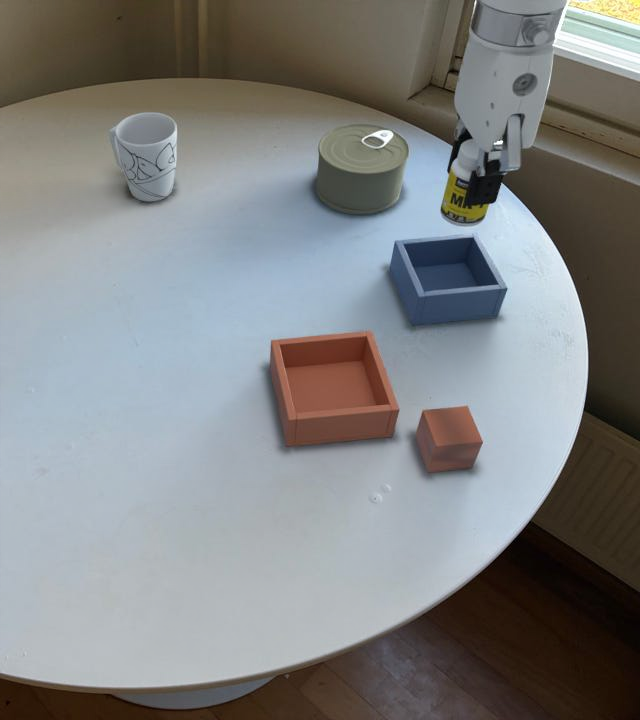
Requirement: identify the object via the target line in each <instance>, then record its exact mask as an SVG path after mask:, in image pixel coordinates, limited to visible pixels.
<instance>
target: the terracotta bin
mask: <svg viewBox="0 0 640 720" xmlns="http://www.w3.org/2000/svg"><path fill="white" fill-rule="evenodd" d="M269 371H270V376H271V381H272V385H273V390H274V395H275V400H276V404H277V409H278V414H279V418H280V423H281V427H282V433H283V436H284V441H285V445H286V447H287V448H289V447H297V446H308V445H309V446H310V445H317V444H318V445H319V444H320V445H321V444H328V443H341V442H351V441H362V440H371V439H382V438H392V437H394V433H395V430H396V425H397V421H398V418H399V415H400V409H401V408H400V406H399V403H398V401H397V398H396V395H395V392H394V388H393V386H392V383H391V381H390V378H389V375H388V371H387V369H386V366H385V363H384V361H383V357H382V355H381V351H380V349H379V346H378V344H377V341H376V338H375V335H374V332H373V330H362V331H351V332H341V333H329V334H320V335H311V336H310V335H308V336H298V337H289V338H288V337H287V338H280V339H279V338H278V339H271V340H270V351H269Z"/></svg>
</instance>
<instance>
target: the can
mask: <svg viewBox="0 0 640 720" xmlns="http://www.w3.org/2000/svg"><path fill="white" fill-rule="evenodd" d="M317 150H318V151H317V152H318V161H317V162H318V163H317V173H316V174H317V175H316V184H315V192H316V195H317V196H318V199H319V200H320V201H321V202H322V203H323V204H324V205H326V206H327V207H328V208H330V209H333V210H334V211H337V212H340V213H343V214H348V215H356V216H366V215H367V216H368V215H374V214H375V215H376V214H378V213H381V212H382V213H383V212H385V211H387V210H389V209H391V208H392V207H393V206H394V205H395V204H397V202H398V200H399V199H400V196H401V192H402V191H401V190H402V186H403V181H404V176H405V171H406V166H407V162H408V160H409V158H410V154H411V153H410V152H411V148H410V145H409V142H408V141H407V140H406V139H405V137H404V136H402V135H401V134H400V133H398V132H397V131H395V130H393V129H391V128H388V127H385V126H382V125H378V124H372V123H371V124H370V123H353V124H352V123H351V124H345V125H341V126H337V127H336V128H333V129H331V130H329V131H328V132H327V133H325V134H324V135H323V136H322V137H321V138H320V140H319V143H318V147H317Z"/></svg>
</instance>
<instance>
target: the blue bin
mask: <svg viewBox="0 0 640 720" xmlns="http://www.w3.org/2000/svg"><path fill="white" fill-rule="evenodd" d="M389 271H390V274H391V276H392V279H393V282H394V285H395V286H396V289H397V292H398V294H399V296H400V299H401V302H402V304H403V306H404V309H405V312H406V314H407V316H408V320H409V321H410V324H411V326H418V325H419V326H420V325H429V324H440V323H449V322H460V321H471V320H480V319H493V318H497V317H498V318H499V315H500V311H501V309H502V306H503V303H504V300H505V298H506V294H507V292H508V290H509V288H508V286H507V285H506V282H505V280H504V279H503V277H502V275H501V273H500V272H499V270H498V268H497V266H496V264H495V263H494V261H493V258H492V256H491V255H490V253H489V251H488V250H487V248H486V246H485V244H484V241H482V238H481V237H480V235H479V233H478V232H471V233H460V234H449V235H440V236H429V237H420V238H408V239H399V240H394V244H393V248H392V253H391V258H390V264H389Z"/></svg>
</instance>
